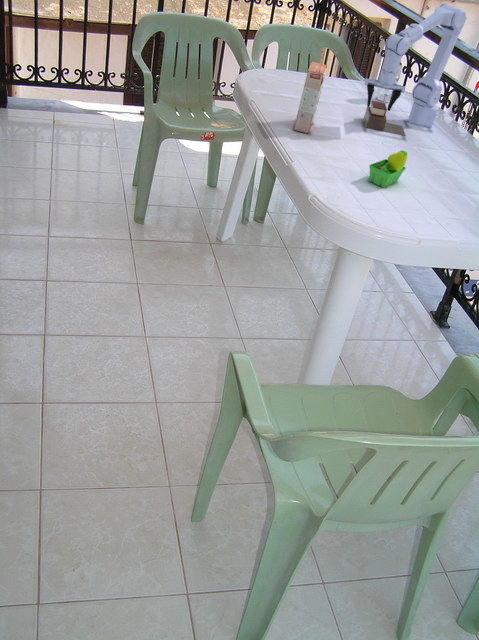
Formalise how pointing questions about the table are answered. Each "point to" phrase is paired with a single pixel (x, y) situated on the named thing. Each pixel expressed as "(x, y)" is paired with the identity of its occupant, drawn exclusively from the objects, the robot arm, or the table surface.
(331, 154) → the table surface
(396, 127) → the book rack
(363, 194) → the table surface
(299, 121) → the cracker box
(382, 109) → the red hardcover book
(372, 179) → the fruit basket
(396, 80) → the beer glass
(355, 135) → the table surface
